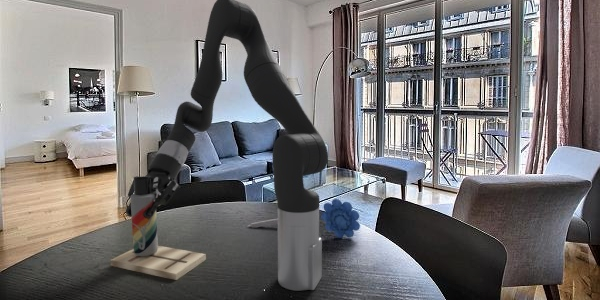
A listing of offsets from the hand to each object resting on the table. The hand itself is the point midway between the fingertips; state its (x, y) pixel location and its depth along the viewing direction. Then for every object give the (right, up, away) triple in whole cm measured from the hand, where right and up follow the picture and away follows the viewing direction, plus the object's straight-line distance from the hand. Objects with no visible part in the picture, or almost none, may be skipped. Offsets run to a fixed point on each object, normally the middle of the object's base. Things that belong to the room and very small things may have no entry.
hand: (137, 215), depth 84 cm
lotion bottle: (+1, -10, +3) cm, 10 cm away
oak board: (+5, -12, +1) cm, 13 cm away
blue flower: (+52, -10, +17) cm, 56 cm away
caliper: (+33, -9, +27) cm, 44 cm away
